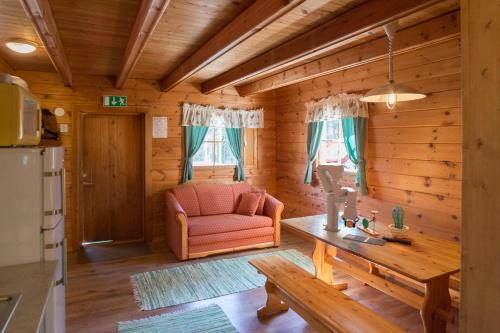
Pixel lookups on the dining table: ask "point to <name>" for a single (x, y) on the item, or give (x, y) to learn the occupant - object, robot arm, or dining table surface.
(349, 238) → the mat
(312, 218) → the dining table surface
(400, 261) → the dining table surface
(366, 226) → the crank mechanism
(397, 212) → the potted cactus
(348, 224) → the ball
